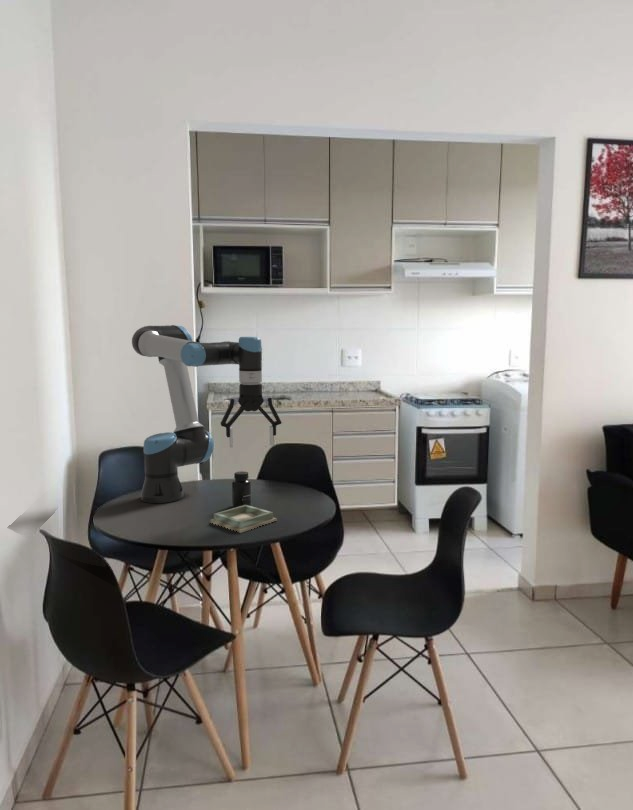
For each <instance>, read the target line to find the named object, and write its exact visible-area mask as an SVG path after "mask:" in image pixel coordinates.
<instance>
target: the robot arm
mask: <svg viewBox="0 0 633 810" xmlns="http://www.w3.org/2000/svg"><path fill="white" fill-rule="evenodd" d="M131 345H132V346H131V347H132V348H133V351H134V352H135V353H136V354H137V355H140V356H142V357H147V358H153V357H157V359H158V363H159V364H161V365H162V366H163V367H164V373H165V378H166V383H167V388H168V393H169V397H170V398H169V399H170V402H171V406H172V412H173V417H174V422H175V426H176V427H175V428H174V430H173V432H160V433H155V434H152V435H149V436H148V437H146V438H145V439H144V441H143V461H144V462H143V463H144V465H143V466H144V482H143V485H142V487H141V488H142V489H141V492H140V500H141V501H142V502H144V503H149V504H164V503H172V502H175V501H179V500H181V499H183V498H184V489H183V486H182V484H181V480H180V478H179V476H178V475H179V472H178V469H179V468H181V467H184V466H189V465H197V464H200V463H204V462H207V461H208V460H210V459H211V457H212V455H213V453H214V448H215V447H214V442H215V441H214V438H213V436H212V435H211V432H209V431H207V430H206V429H205V427H204V425H203V424H202V423H200V422H199V421H200V420H199V418H198V417H199V416H198V412H197V407H196V402H195V397H194V392H193V388H192V383H191V378H190V373H189V368H188V367H203V366H219V365H220V366H221V365H222V366H223V365H238V379H239V380H238V382H239V383H240V384H239V385H238V386H239V387H238V388H239V393H238V394H239V397H238V398H233V397H231V398H229V405H228V407H227V408H226V411H225V413H224V414H223V417H222V419H221V421H220V426H221V427H224V428H225V436H226V438H229V448H231V449H232V448H233V446H234V443H233V439H234V438H233V427H232V426H233V424H234V423H235V422H236V421H237V419H239V416H241V415H242V414H243V412H244V411H245V412H257V411H259V412H260V413H261V414H262V415H263V416H264V417H265V419H266V420H267V421H268V422H269V423H270V424H271V425H269V445H270V447H274V436H277V426H279V425H281V424H282V420H281V419H280V416H279V415H278V412H277V410H276V408H275V407H274V405H273V400H272V398H271V396H267V397H263V384H261V383H263V382H262V381H263V374H262V372H263V371H262V367H263V363H262V361H263V359H262V358H263V345H262V339H261V337H259V336H240V337H239V338H238V341H229V340H228V341H221V342H217V341H216V342H200V341H199V342H198V341H193V338H192V335H191V333H190V331H189V330H188V329H187V328H185V326H182V325H175V324H172V325H144V326H142V327H140V328H138V329H136V331H135V332H134V333H133V335H132V337H131ZM237 403H238V404H239V406H240V407H239V408H238V409H237V411H235V413H234V414H233V416H232V417H230V419H229V416H230V415H231V413H232V411H233V410H234V409H233V408H234V406H236V405H237ZM263 403H265V404H266V405H268V408H269V409H270V411H271V414H272V415H273V417H274V419H275V420H274V419H272V417H270V415H269V414H268V413H267V412H266V411H265V409H264V408H263V407H262V405H263ZM228 419H229V420H228Z"/></svg>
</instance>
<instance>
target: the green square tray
mask: <svg viewBox="0 0 633 810" xmlns="http://www.w3.org/2000/svg"><path fill="white" fill-rule="evenodd" d="M274 521H277V522H278V518H277V517H274V512H273V511H269V510H266V509H263V508H259V507H255V506H253V505H251V506H249V505H243V506H239V507H236V508H233V507H232V508H229V509H224V510H222V511H218V512H215V513H213V518H212V519H210V520H209V522H210V524H212V523H213V524H212V525H215V524H216V525H215V526H218V525H219V526H218V527H221V526H222V527H221V528H224V527H225V528H224V529H227V528H228V529H227V530H230V529H231V530H230V531H233V530H234V531H233V532H236V531H237V532H236V533H239V534H242V533H245V532H248V531H252V530H254V528H255V529H257V527H258V528H260V527H259V526H261V527H263V526H262V525H264V526H266V525H265V524H267V525H269V524H268V523H270V524H272V523H271V522H274ZM274 523H275V522H274ZM251 529H252V530H251Z"/></svg>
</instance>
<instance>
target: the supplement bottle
mask: <svg viewBox="0 0 633 810" xmlns="http://www.w3.org/2000/svg"><path fill="white" fill-rule="evenodd" d="M233 475H234V476H233V478H234V480H233V481H232V482H231V507H232V508H236V507H239V506H243V505H249V506H253V504H252V502H253V501H252V500H253V499H252V498H253V497H252V494H253V493H252V481H251V480H250V479H249V477H250V476H249V472H248V471H242V470H241V471H236V472H234V474H233Z"/></svg>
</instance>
